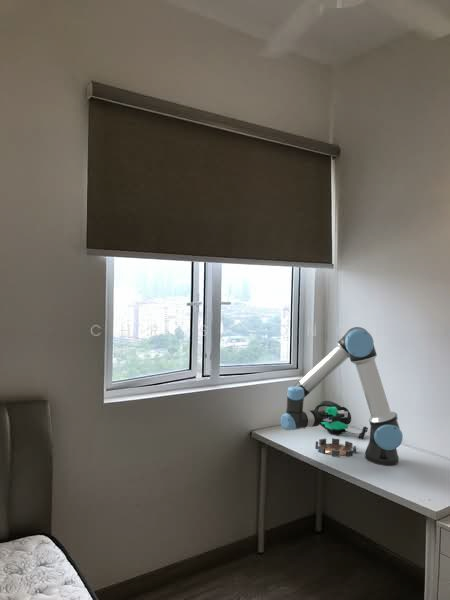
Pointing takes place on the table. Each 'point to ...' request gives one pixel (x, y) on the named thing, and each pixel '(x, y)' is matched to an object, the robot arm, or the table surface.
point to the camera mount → (336, 424)
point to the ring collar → (335, 448)
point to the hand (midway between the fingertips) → (345, 413)
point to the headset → (343, 420)
